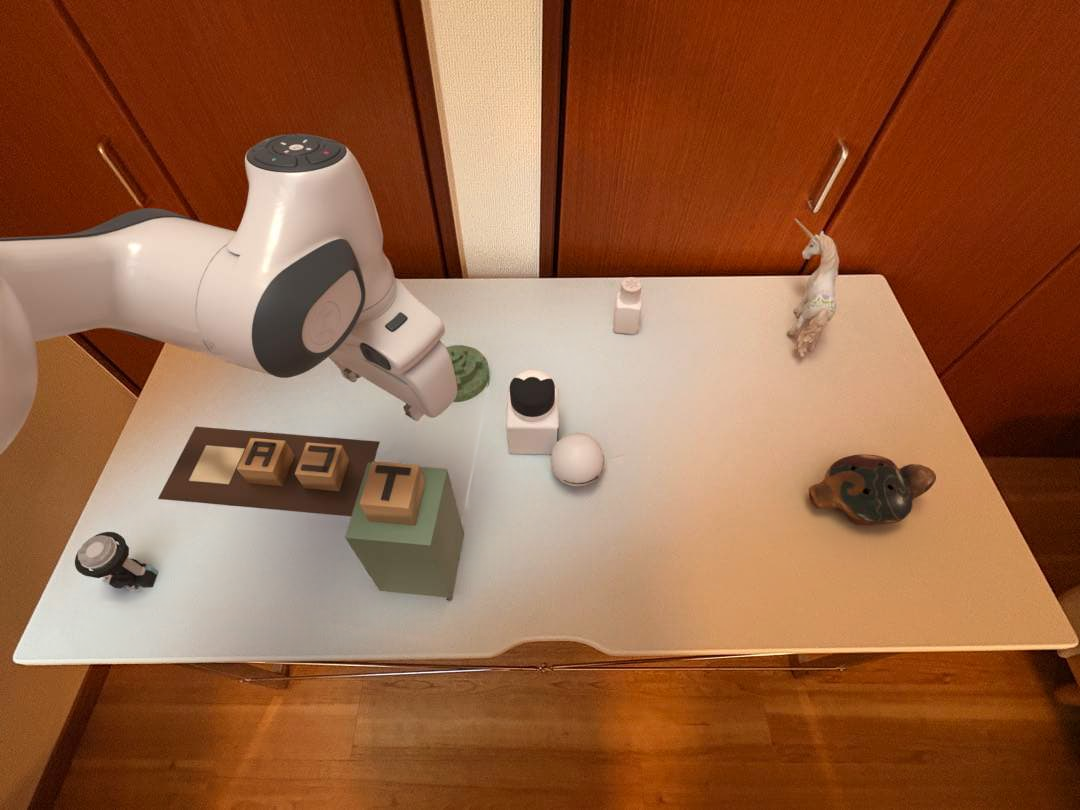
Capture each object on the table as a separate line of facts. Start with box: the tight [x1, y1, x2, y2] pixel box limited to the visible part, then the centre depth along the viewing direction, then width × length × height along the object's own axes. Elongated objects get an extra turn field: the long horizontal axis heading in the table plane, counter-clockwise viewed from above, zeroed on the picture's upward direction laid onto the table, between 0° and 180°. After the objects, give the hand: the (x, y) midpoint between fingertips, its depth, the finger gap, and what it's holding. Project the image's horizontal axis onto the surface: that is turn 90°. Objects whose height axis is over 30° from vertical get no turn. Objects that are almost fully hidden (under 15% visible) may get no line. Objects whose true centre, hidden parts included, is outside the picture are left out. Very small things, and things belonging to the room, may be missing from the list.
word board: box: [157, 426, 381, 517], centre depth 87 cm, size 12×28×1 cm, turn 84°
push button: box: [74, 531, 159, 591], centre depth 74 cm, size 7×5×10 cm
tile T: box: [359, 460, 425, 525], centre depth 64 cm, size 5×5×4 cm
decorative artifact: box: [445, 344, 491, 403], centre depth 94 cm, size 10×7×10 cm
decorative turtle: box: [808, 453, 937, 526], centre depth 80 cm, size 10×15×8 cm, turn 100°
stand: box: [344, 463, 465, 601], centre depth 72 cm, size 9×9×17 cm
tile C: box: [295, 443, 349, 491], centre depth 84 cm, size 5×5×4 cm
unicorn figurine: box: [786, 218, 840, 358], centre depth 98 cm, size 7×20×13 cm, turn 178°
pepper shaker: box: [612, 276, 643, 335], centre depth 99 cm, size 4×4×10 cm
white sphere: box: [549, 432, 623, 487], centre depth 84 cm, size 10×7×7 cm
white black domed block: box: [505, 369, 560, 455], centre depth 86 cm, size 7×7×12 cm
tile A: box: [237, 438, 295, 486], centre depth 85 cm, size 5×5×4 cm
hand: (384, 394), depth 68 cm, fingers open, 8 cm apart
